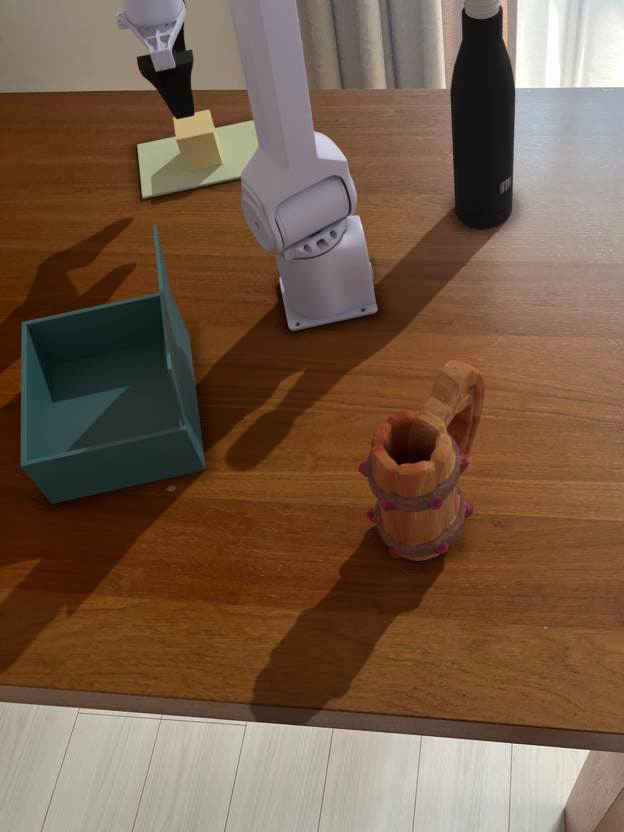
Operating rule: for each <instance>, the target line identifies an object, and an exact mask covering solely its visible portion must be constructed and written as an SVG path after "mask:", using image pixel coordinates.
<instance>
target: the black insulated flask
mask: <svg viewBox="0 0 624 832" xmlns="http://www.w3.org/2000/svg"><path fill="white" fill-rule="evenodd" d="M503 27H504V9H503V7H502V5H501V0H464V1H463V7H462V9H461V42H460V45H459V47H458V48H459V49H458V51H457V55H456V59H455V62H454V64H453V69H452V76H451V82H450V83H451V84H450V90H449V93H450V113H451V114H450V118H451V142H452V144H451V145H452V166H453V189H454V212H455V216H456V218H457V220H458V221H459V222H460V223H461V224H463V225H464V226H466V227H468V228H471V229H476V230H489V229H494V228H497V227H499V226H501V225H502V224H504V223H506V221H508V219H509V218H510V217H511V214H512V212H513V196H514V165H515V164H514V163H515V162H514V158H515V157H514V156H515V127H516V126H515V125H516V124H515V123H516V122H515V121H516V86H515V85H516V84H515V77H514V72H513V66H512V62H511V57H510V55H509V52H508V49H507V46H506V44H505V40H504V38H503V36H504V35H503V34H504V33H503V32H504V29H503Z"/></svg>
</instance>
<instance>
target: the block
mask: <svg viewBox="0 0 624 832" xmlns="http://www.w3.org/2000/svg"><path fill="white" fill-rule="evenodd" d="M172 121H173V128H174V135H175V136H174V137H176V141H177V144H178V147H179V150H180V153H181V156H182V159H183V162H184V164H185V167H186V170H187V172H189V171H194V170H198V169H203V168H208V167H212V166H217V165H222V164H223V162H222V156H221V150H220V144H219V140H218V137H217V133H216V130H215V128H216V127H215V124H214V120H213V117H212V114H211V110H210V109H205V110H200V111H196V112H195V111H194V116H191V117H186V118H182V119H176V118H175V117H174V116H173V117H172Z"/></svg>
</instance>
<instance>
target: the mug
mask: <svg viewBox="0 0 624 832" xmlns="http://www.w3.org/2000/svg"><path fill="white" fill-rule="evenodd" d="M435 378H436V379H435V381H434V383H433V386H432V389H431V391H430V393H429V396H428V397H427V399H426V401H425V403H424V404H423V406H422V407H421V408H420V410H419V412H418V413H413V412H412V411H410V410H407V409H405V410H400V411H397V412H394V413H392V414H391V415H390V416H389V417H388V418H387V421H386V422H381V423H380V424H378V425H377V426H376V428H375V429H374V430H373V434H372V438H371V439H370V445H371V449H370V451H369V453H368V456H367V457H366V460H364V461H362V462H361V463H360V464H359V466H358V467H357V471H358V472H359V473H360V474H361V475H362V476H363V477H365V478H367V480H368V484H369V488H370V490H371V491H372V493H373V495H374V497H375V498H377V500H376V503H375V506H372V507H370V508H368V510H367V511H366V516H367V519H368V520H369V521H370V522H372V523H375V525H376V528H377V530H378V533H379V536H380V537H381V539H382V541H383V542H384V543H385V544H386V546H388V554H389V555H390V557H392V558H394V559H396V558H400V557H401V558H404V559H408V560H411V561H413V562H414V561H416V562H417V561H420V562H421V561H426V560H431V559H432V558H436V557H438V556H440V555H443V554H445V553H447V552H448V551H449V547H450V546H451V545H452V544H453V543H454V542H455V541H456V540H457V539H458V538H459V536H460V535H461V532H462V531H463V529H464V527H465V523H466V520H467V518H470V517H471V516H472V515H473V513H474V506H473V504H472V503H470V502H469V501H466V497H465V493H464V490H463V488H462V487H461V486H462V485H460V483H459V480H460V477H461V474H462V473H464V472H465V471H466V470H467V469H468V467H469V465H470V462H469V461H468V459H469V458H470V455H471V451H472V446H473V443H474V440H475V437H476V434H477V431H478V428H479V423H480V420H481V417H482V413H483V406H484V399H485V391H486V390H485V389H486V385H485V382H484V381H485V379H484V378H483V375H482V373H481V371H480V369H479V368H476V367H474V366H473V365H470V364H469V363H465V362H463V361H459V360H455V359H450V360H449V361H447V362H446V363H444V364H443V366H441V368H440V370H439V371H438V373H437V376H436V377H435Z"/></svg>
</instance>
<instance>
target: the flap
mask: <svg viewBox="0 0 624 832" xmlns="http://www.w3.org/2000/svg"><path fill="white" fill-rule="evenodd" d="M152 232H153V240H154V241H153V242H154V251H155V252H154V253H155V261H156V269H157V270H156V271H157V281H158V288H159V289H158V290H159V292H160V301H161V310H162V320H163V330H164V340H165V349H166V359H167V369H168V373H169V377H170V381H171V385H172V388H173V392H174V396H175V400H176V404H177V408H178V412H179V416H180V419H181V423H182V425H185V417H184V408H183V399H182V390H181V381H180V372H179V363H178V354H177V345H176V336H175V327H174V318H173V309H172V300H171V293H172V292H171V284H170V279H169V276H168V272H167V271H168V270H167V267H166V262H165V258H164V254H163V249H162V244H161V240H160V236H159V232H158V228H157V224H153V225H152Z"/></svg>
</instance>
